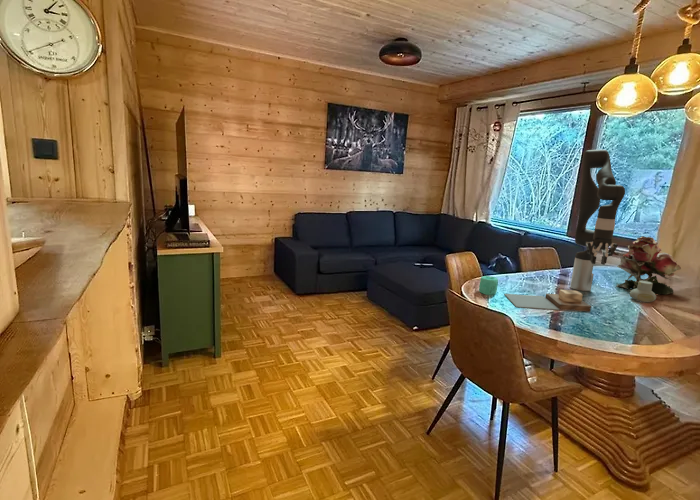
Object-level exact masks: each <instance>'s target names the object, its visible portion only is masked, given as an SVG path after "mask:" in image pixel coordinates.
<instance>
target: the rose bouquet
mask: <svg viewBox="0 0 700 500" xmlns="http://www.w3.org/2000/svg"><path fill="white" fill-rule="evenodd" d="M627 249H628V252H626V253H624V254H623V255H622V257H620V264H618V265H617V266H616V267H617V268H619V269H621V270H622V271H625V272H626V273H628V274H629V276H628V277H627V279H625V280H624V282H623V283H618V284H616V287H617V288H618V287H619V288H620V287H621V288H624V289H626V290H628V291H630V292H631V290H633V289H636V288H637V286H638V282H639V281H648V282H651V283H652V284H653V285H652V290H651V291H652V292H654V293H655V294H658V295H657V296H659V295H670V294H674V289H673V288H672V287H671V286H670V285H669V286H668V285H667V284H665V283H663V282H660V281H659V280H658V278H657V275H658V276H660V277H662V278H664V279H665V280H670V281H671V279H670V278H668V277H671V278H672V277H674V276H675V273H674V272H676V271H680V270H681V269H682V268H681V265H679V264H677V262H678V261H676V260H675V258H674V256H673V255H672V254H669V253H667V252H661V251H662V248H659V246H658V242H656V240H655V238H654V237H651V236H648V237H647V236H643V235H642V236H641V237H637V238H636V240H635V241H632V244H629V245H628V246H627ZM653 274H654V275H653ZM645 275H647V276H648V277H647V278H641V276H645ZM666 276H668V277H666ZM632 277H634V279H635V280H633V279H630V278H632Z"/></svg>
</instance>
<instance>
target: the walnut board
mask: <svg viewBox="0 0 700 500" xmlns="http://www.w3.org/2000/svg"><path fill="white" fill-rule="evenodd" d="M545 298H547V299H548V300H549V301H550V302H551V303H553V304H554V305H555V306H556V307H558V308H559V309H560V310H562V311H563V310H564V311H565V310H566V311H576V312H577V311H579V312H591V309H592V308H591V307H592V306H591V305H590V304H589V303H586V302H585V301H584V300H582V301H581V302H567V301H563V300H562V299H560V298H559V293H545Z"/></svg>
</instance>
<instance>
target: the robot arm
mask: <svg viewBox="0 0 700 500" xmlns="http://www.w3.org/2000/svg"><path fill="white" fill-rule="evenodd" d="M582 157H583V158H582V177H581V179H582V180H581V187H580V188H581V189H580V194H579V196H580V198H579V209H578V218H577V224H576V228H575V229H576V230H575V235H574V242H575V244H576V245H577V246H582V247H585V248H586V250H583V251H577V252H576V253H575V256H574V262H573V267H572V275H571V280H570V286H569V287H570V288H571V289H572V290H575V291H579V292H580V291H581V292H589V291H590V292H591V290H592V286H593V285H592V284H593V279H594V275H595V274H594V273H593V270H594V265H596V262H597V255H598V253H599V252H600V251H601V252H602V256H601V260H600V264H601V265H603V266H604V265H605V264H607V260H608V257H612V256H613V255H614V253H615V251H616V250H617V248H618V246H619V245H618V244H617V243H614V242H613V241H612V239H613V237H614V231H615V225H616V216H617V212H618V209H619V207H620V205H621V202H622V201H623V199H624V197H625V194H626V188H625V187H624V186H623V185H621V184H617V180H616V178H615V177H614V176H615V175H614V174H613V171H612V162H611V157H610V154H609V151H608V150H607V149H589V150H585V151H584V153H583V156H582ZM591 169H599V170H598V172H597V173H596V176H595V179H596V182H595V181H594V179H593V177H592V174H591V173H592V172H591ZM596 183H597V184H596ZM601 200H602V201H611V203H608V204H604V205H601ZM597 210H598V213H597V218H596V221H595V227H594V229H587V225H588V221H589V220H590V219H591V217H592V216H593V215H594V214H595V213H596V212H597Z"/></svg>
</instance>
